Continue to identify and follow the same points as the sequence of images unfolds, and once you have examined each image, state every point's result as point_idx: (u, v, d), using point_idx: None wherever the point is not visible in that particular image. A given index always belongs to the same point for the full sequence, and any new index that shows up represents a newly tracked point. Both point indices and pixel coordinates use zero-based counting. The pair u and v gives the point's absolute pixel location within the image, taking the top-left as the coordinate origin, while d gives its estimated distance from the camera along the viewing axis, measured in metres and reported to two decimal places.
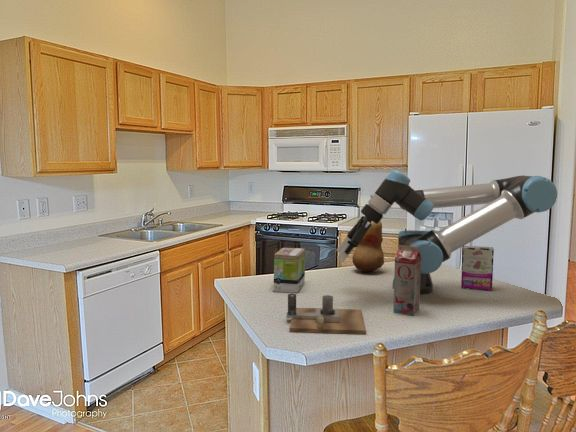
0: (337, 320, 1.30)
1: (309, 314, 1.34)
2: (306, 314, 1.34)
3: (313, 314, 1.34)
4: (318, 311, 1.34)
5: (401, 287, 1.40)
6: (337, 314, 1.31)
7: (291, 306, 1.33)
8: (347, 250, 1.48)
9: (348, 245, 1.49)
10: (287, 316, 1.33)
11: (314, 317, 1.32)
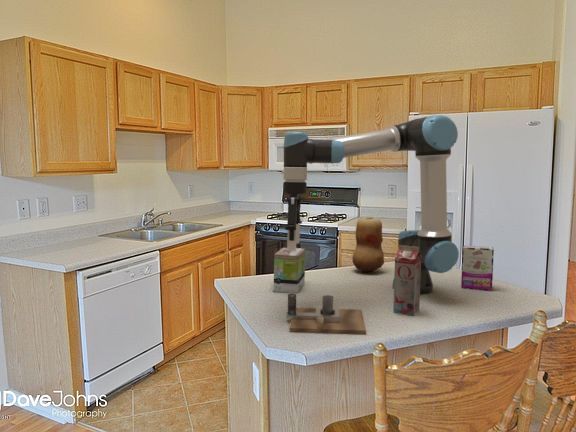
0: (337, 320, 1.30)
1: (309, 314, 1.34)
2: (306, 314, 1.34)
3: (313, 314, 1.34)
4: (318, 311, 1.34)
5: (401, 287, 1.40)
6: (337, 314, 1.31)
7: (291, 306, 1.33)
8: (290, 237, 1.32)
9: None
10: (287, 316, 1.33)
11: (314, 317, 1.32)
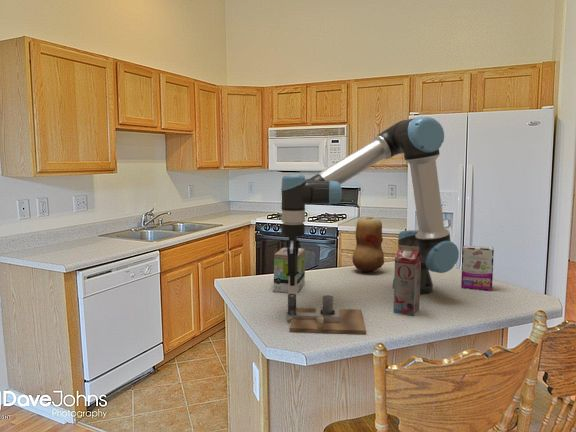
0: (337, 320, 1.30)
1: (309, 314, 1.34)
2: (306, 314, 1.34)
3: (313, 314, 1.34)
4: (318, 311, 1.34)
5: (401, 287, 1.40)
6: (337, 314, 1.31)
7: (291, 306, 1.33)
8: (291, 282, 1.39)
9: (290, 277, 1.40)
10: (287, 316, 1.33)
11: (314, 317, 1.32)
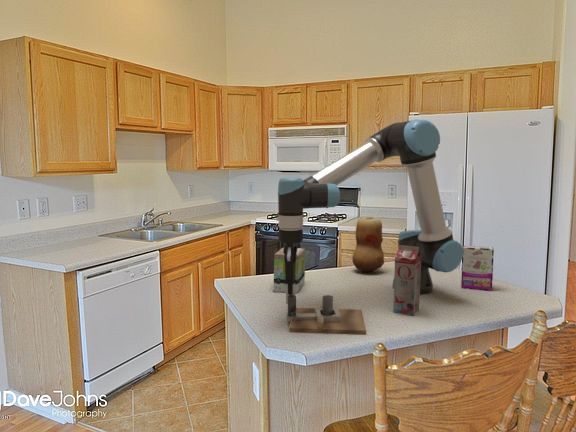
0: (338, 320, 1.30)
1: (309, 315, 1.33)
2: (306, 315, 1.33)
3: (313, 315, 1.33)
4: (318, 311, 1.34)
5: (401, 287, 1.40)
6: (338, 314, 1.32)
7: (292, 307, 1.32)
8: (289, 291, 1.33)
9: (287, 285, 1.34)
10: (287, 318, 1.32)
11: (315, 318, 1.32)
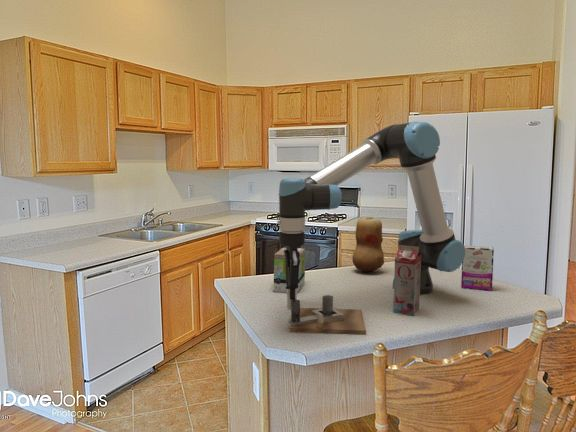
0: (341, 318, 1.31)
1: (312, 317, 1.31)
2: (309, 318, 1.30)
3: (315, 317, 1.31)
4: (318, 313, 1.33)
5: (401, 287, 1.40)
6: (338, 312, 1.33)
7: (297, 312, 1.27)
8: (291, 296, 1.28)
9: (289, 290, 1.29)
10: (294, 324, 1.27)
11: None
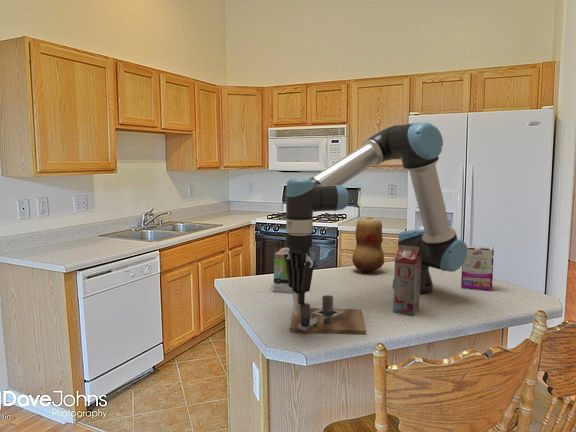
0: (342, 316, 1.33)
1: None
2: (315, 320, 1.28)
3: None
4: (320, 314, 1.31)
5: (401, 287, 1.40)
6: (337, 311, 1.34)
7: (308, 316, 1.24)
8: (301, 300, 1.24)
9: (298, 294, 1.24)
10: (306, 328, 1.23)
11: None
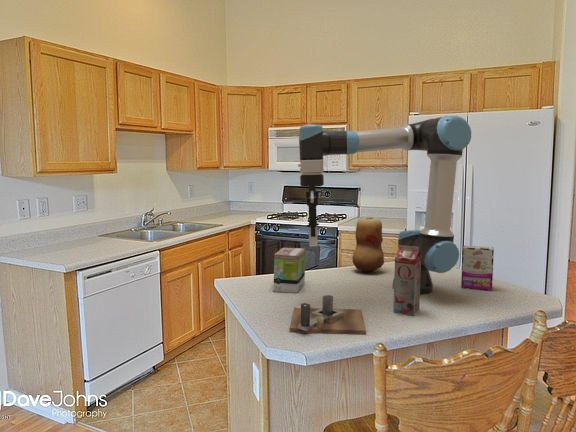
0: (342, 316, 1.33)
1: None
2: (315, 320, 1.28)
3: None
4: (320, 314, 1.31)
5: (401, 287, 1.40)
6: (337, 311, 1.34)
7: (308, 316, 1.24)
8: (312, 233, 1.40)
9: (310, 228, 1.41)
10: (306, 328, 1.23)
11: None
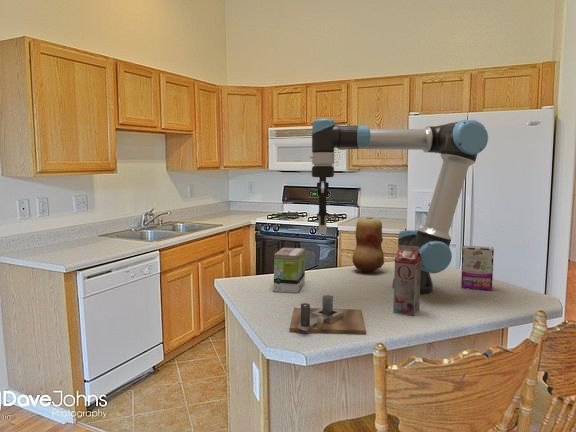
0: (342, 316, 1.33)
1: None
2: (315, 320, 1.28)
3: None
4: (320, 314, 1.31)
5: (401, 287, 1.40)
6: (337, 311, 1.34)
7: (308, 316, 1.24)
8: (321, 222, 1.47)
9: (320, 217, 1.48)
10: (306, 328, 1.23)
11: None
